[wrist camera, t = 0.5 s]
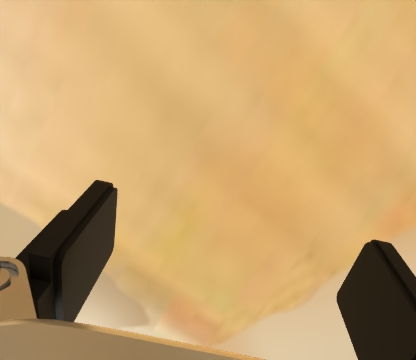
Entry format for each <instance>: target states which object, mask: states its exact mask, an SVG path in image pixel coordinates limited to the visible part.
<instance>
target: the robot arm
mask: <svg viewBox="0 0 416 360" xmlns="http://www.w3.org/2000/svg"><path fill="white" fill-rule="evenodd" d="M116 206H117V188H113V184H112V183H109V182H104V181H100V180H96V181H94V182H93V184H92V185H91V186H90V187H89V188H88V189H87V190H86V191H85V192H84V193H83V194H82V195H81V196H80V197H79V199H78V200H77V201H76V202H75V203H74V204H73V205H72V206H71V207H70V208H69V209H68V210H62V211H61V212H59V213H58V214H57V215H56V216H55V218H54V219H53V220H52V221H51V222H50V223H49V224H48V225H47V226H46V227H45V228H44V229H43V230H42V231H41V232H40V233H39V234H38V235H37V236H36V237H35V238H34V239H33V240H32V241H31V242H30V243H29V244H28V245H27V246H26V248H25V249H24V250H23V251H22V252H21V253H20V254H19V255H18V256H17V257H16V258H11V257H0V360H265V359H259V358H254V357H250V356H245V355H240V354H236V353H231V352H226V351H221V350H216V349H211V348H206V347H202V346H197V345H192V344H187V343H182V342H177V341H172V340H167V339H162V338H157V337H152V336H147V335H142V334H137V333H132V332H127V331H121V330H116V329H110V328H105V327H99V326H94V325H89V324H83V323H75V322H74V320H75V319H76V317H77V315H78V313H79V312H80V310H81V308H82V306H83V304H84V302H85V300H86V299H87V297H88V295H89V294H90V292H91V290H92V288H93V286H94V284H95V283H96V281H97V279H98V277H99V275H100V274H101V272H102V270H103V268H104V267H105V265H106V263H107V261H108V259H109V258H110V256H111V254H112V251H113V248H114V237H115V222H116ZM337 303H338V306H339V309H340V311H341V314H342V317H343V319H344V322H345V325H346V328H347V331H348V333H349V336H350V339H351V342H352V344H353V347H354V350H355V352H356V355H357V358H358V360H416V277H415V275H414V274H413V273H412V271H411V270H410V268H409V267H408V266H407V264H406V263H405V262H404V260H403V259H402V257H401V256H400V255H399V253H398V252H397V250H396V249H395V248H394V246H393V245H392V244H391V243H388V242H383V241H379V240H372V241H370V243H369V242H368V243H366V244H365V245H364V247H363V249H362V250H361V252H360V254H359V256H358V257H357V259H356V261H355V263H354V265H353V266H352V268H351V270H350V272H349V273H348V275H347V277H346V279H345V280H344V282H343V284H342V286H341V288H340V289H339V291H338V293H337Z"/></svg>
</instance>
